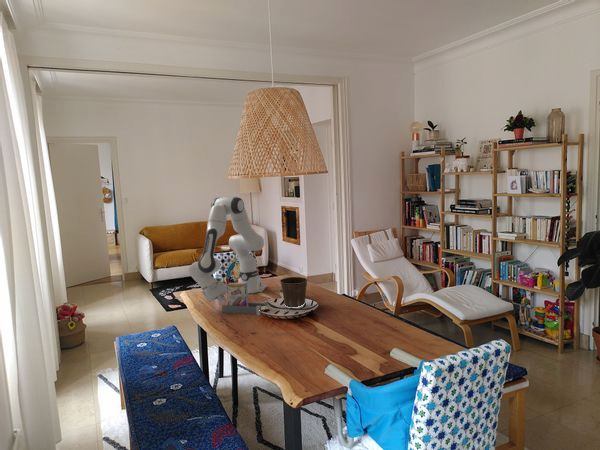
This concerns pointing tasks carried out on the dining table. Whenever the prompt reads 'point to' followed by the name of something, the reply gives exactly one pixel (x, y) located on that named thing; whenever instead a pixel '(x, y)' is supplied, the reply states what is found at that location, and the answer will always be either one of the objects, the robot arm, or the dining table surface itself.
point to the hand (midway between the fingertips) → (225, 301)
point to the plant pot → (294, 291)
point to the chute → (245, 308)
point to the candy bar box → (237, 294)
